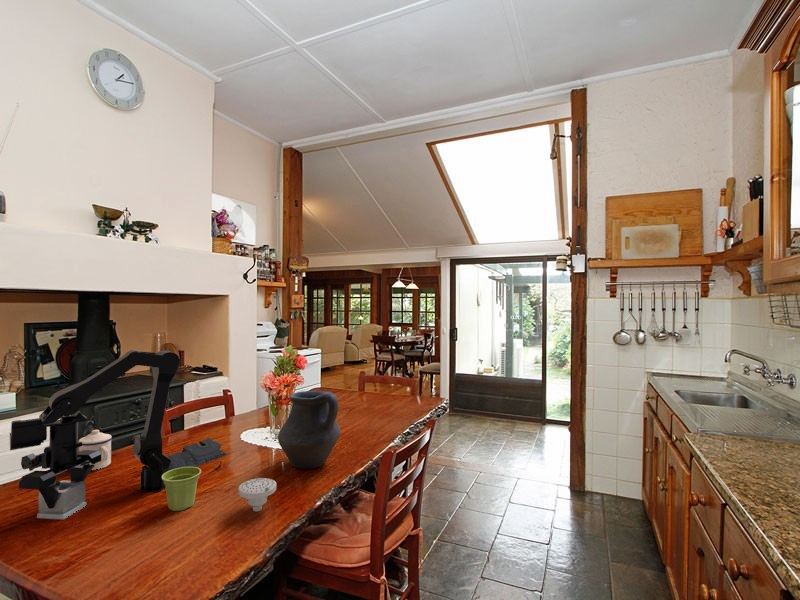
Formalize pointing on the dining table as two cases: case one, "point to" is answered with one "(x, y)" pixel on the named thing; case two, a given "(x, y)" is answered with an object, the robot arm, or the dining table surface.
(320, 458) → the pitcher
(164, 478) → the plant pot
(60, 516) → the shaft base
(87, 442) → the teacup with lid
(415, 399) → the dining table surface
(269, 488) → the showerhead
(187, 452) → the dark slate chunk
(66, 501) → the collar
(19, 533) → the dining table surface
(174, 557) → the dining table surface
